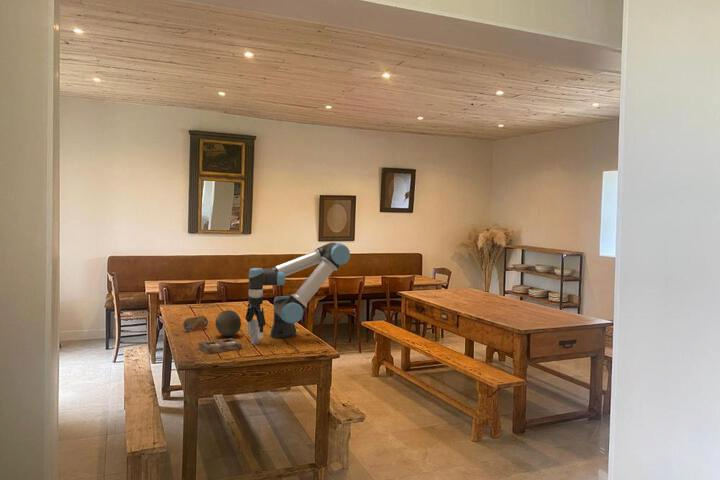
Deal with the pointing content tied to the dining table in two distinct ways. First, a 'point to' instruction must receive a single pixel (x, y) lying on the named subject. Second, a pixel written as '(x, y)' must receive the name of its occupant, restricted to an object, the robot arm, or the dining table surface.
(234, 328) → the dark grey round ball
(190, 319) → the tin
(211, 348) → the socket board
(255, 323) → the plug
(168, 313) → the dining table surface
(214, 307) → the dining table surface
